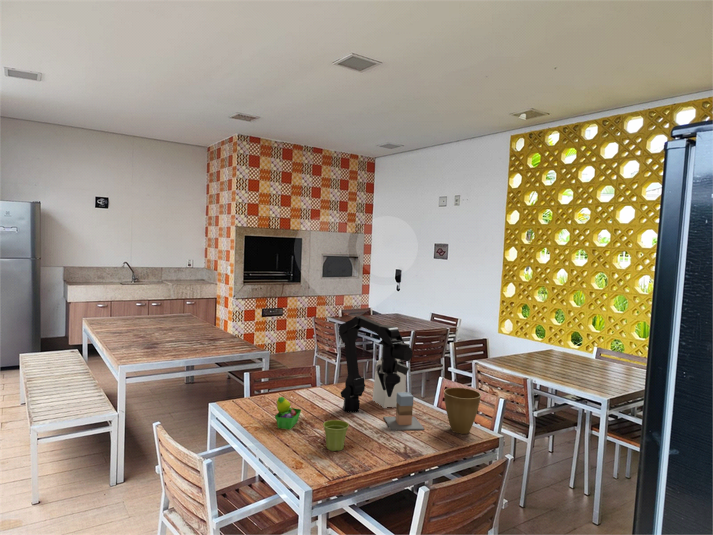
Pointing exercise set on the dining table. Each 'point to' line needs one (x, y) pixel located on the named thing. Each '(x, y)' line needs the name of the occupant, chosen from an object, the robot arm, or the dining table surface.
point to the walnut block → (404, 409)
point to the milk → (380, 394)
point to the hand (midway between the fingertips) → (386, 393)
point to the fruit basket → (286, 414)
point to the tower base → (403, 427)
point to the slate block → (405, 399)
